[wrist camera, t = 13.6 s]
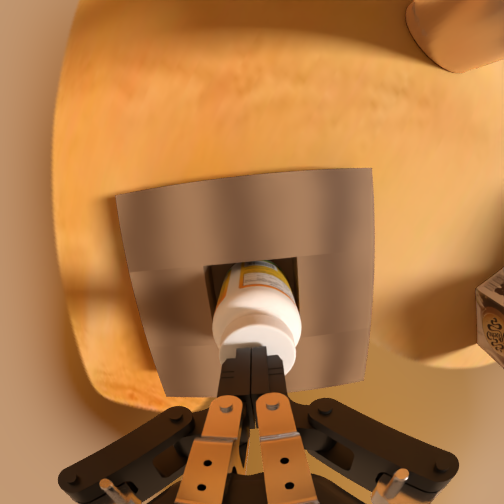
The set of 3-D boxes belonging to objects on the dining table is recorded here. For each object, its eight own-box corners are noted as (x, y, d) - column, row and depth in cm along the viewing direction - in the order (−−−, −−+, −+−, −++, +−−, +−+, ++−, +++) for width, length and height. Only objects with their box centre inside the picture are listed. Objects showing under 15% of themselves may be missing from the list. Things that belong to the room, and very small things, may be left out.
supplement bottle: (245, 327, 24) (242, 407, 15) (209, 278, 23) (183, 343, 14) (300, 296, 23) (326, 367, 14) (266, 243, 22) (276, 291, 13)
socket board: (352, 168, 22) (371, 167, 18) (351, 356, 26) (363, 380, 22) (136, 191, 22) (115, 195, 18) (175, 371, 27) (166, 396, 23)
